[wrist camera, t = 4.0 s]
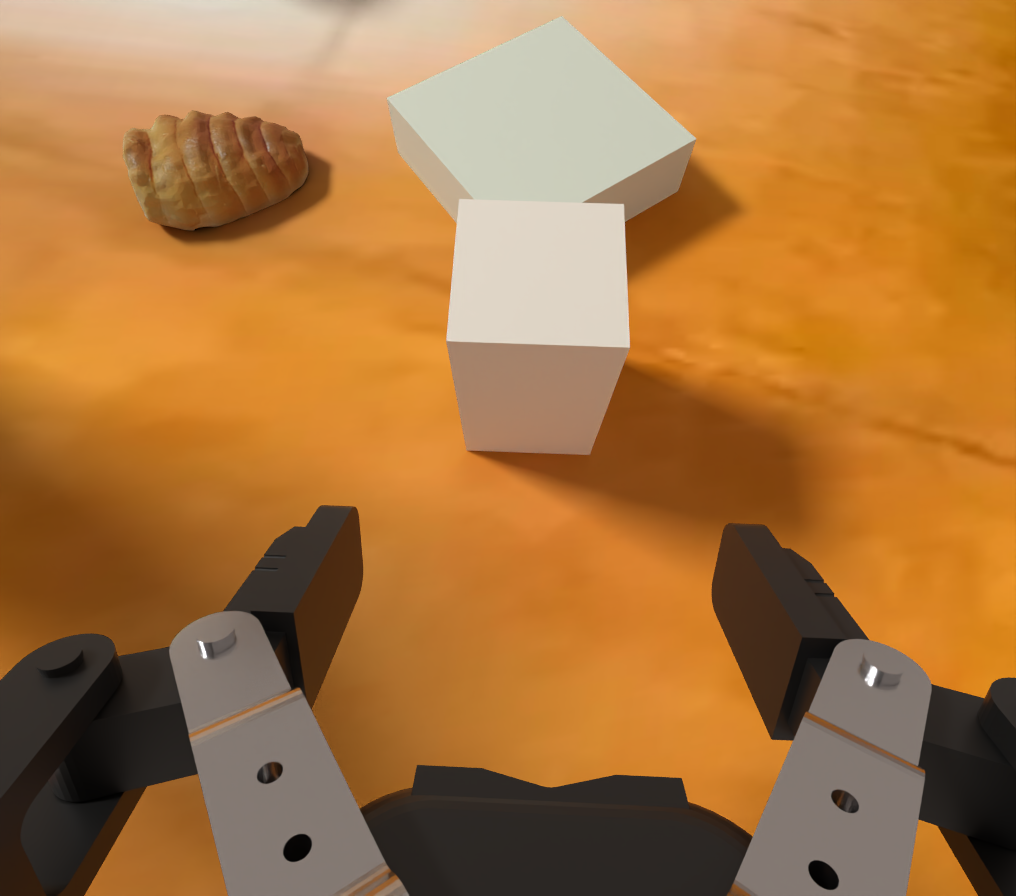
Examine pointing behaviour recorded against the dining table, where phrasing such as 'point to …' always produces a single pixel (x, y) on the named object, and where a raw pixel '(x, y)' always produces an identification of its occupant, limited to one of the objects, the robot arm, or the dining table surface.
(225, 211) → the pastry
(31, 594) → the dining table surface
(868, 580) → the dining table surface
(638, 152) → the block
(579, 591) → the dining table surface
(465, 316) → the tall block
